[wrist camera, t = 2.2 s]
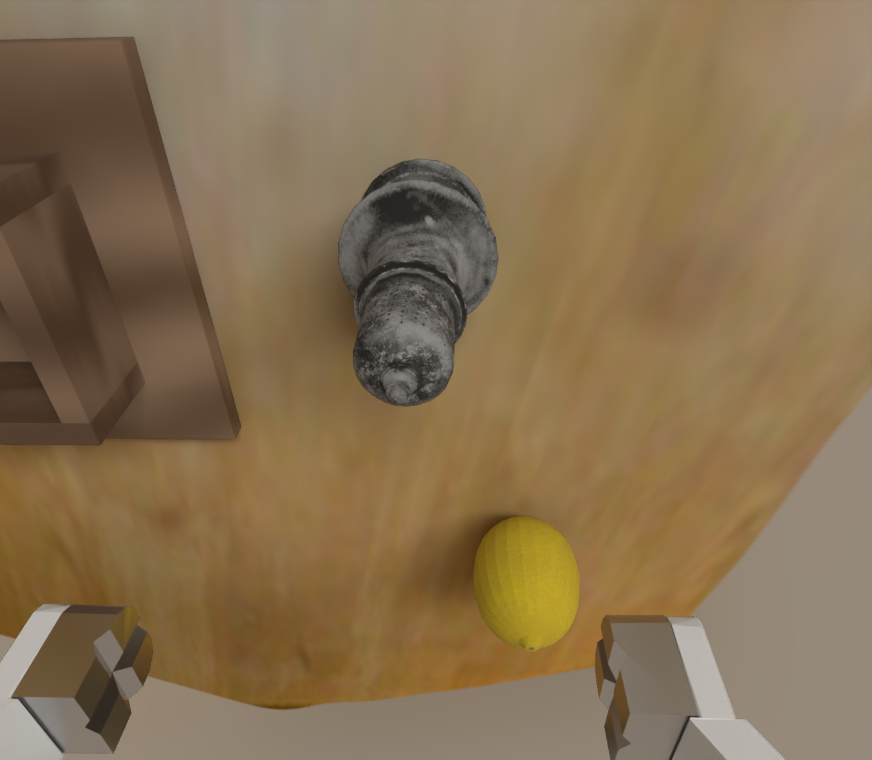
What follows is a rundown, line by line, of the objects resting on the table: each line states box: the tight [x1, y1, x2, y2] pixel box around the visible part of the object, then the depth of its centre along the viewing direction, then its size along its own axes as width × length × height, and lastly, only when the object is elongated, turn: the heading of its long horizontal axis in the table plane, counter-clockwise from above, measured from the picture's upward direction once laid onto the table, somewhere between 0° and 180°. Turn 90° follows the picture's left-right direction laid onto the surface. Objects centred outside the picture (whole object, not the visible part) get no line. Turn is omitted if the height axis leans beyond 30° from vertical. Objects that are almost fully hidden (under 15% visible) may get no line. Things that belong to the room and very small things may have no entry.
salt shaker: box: [338, 159, 498, 407], centre depth 20 cm, size 6×6×12 cm
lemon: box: [473, 516, 580, 652], centre depth 32 cm, size 6×6×8 cm
